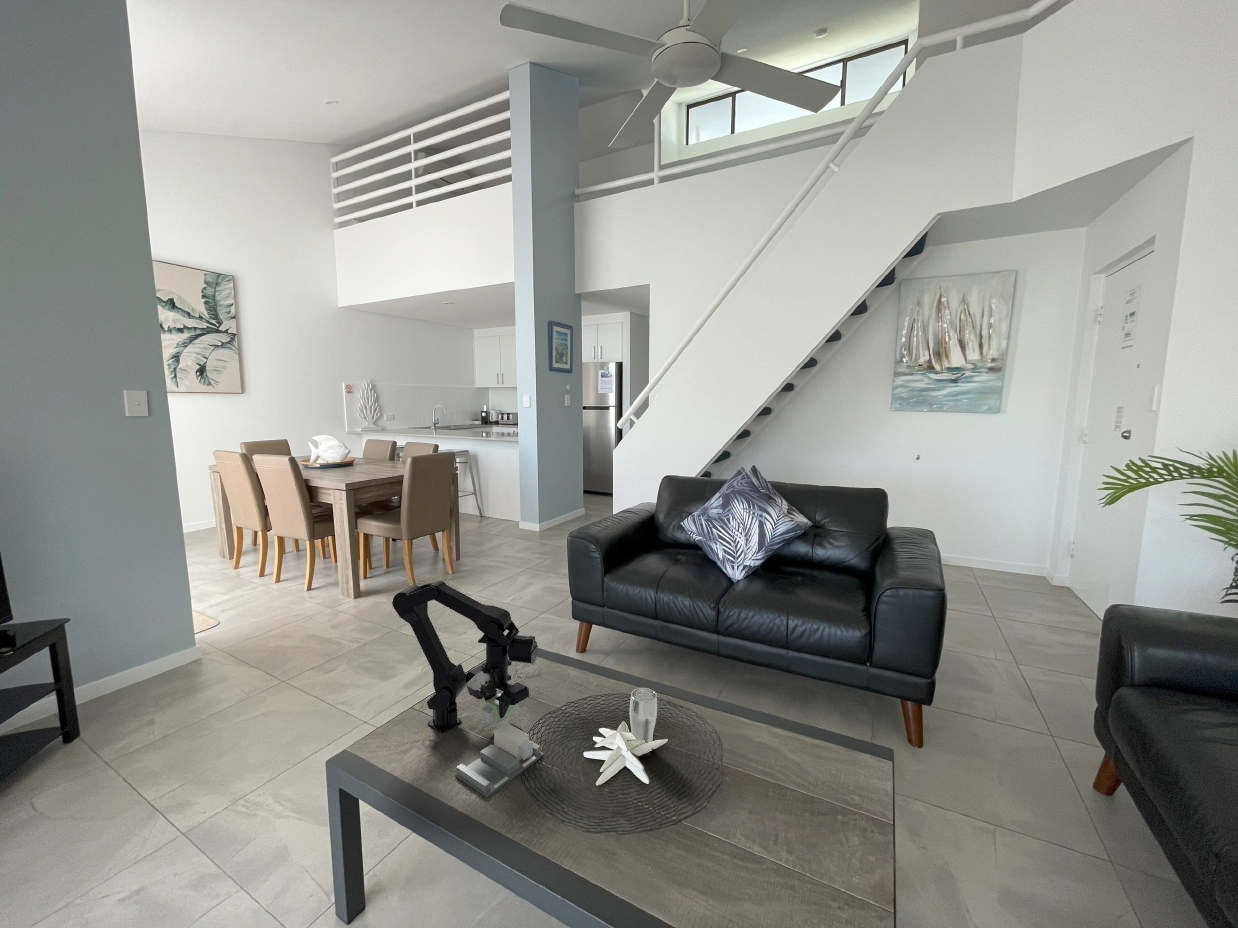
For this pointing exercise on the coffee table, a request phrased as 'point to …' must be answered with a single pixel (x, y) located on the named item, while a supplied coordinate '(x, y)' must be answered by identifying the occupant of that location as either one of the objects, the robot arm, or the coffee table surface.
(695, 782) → the coffee table surface
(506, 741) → the cream plug
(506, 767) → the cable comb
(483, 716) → the sage plug
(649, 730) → the beer glass
